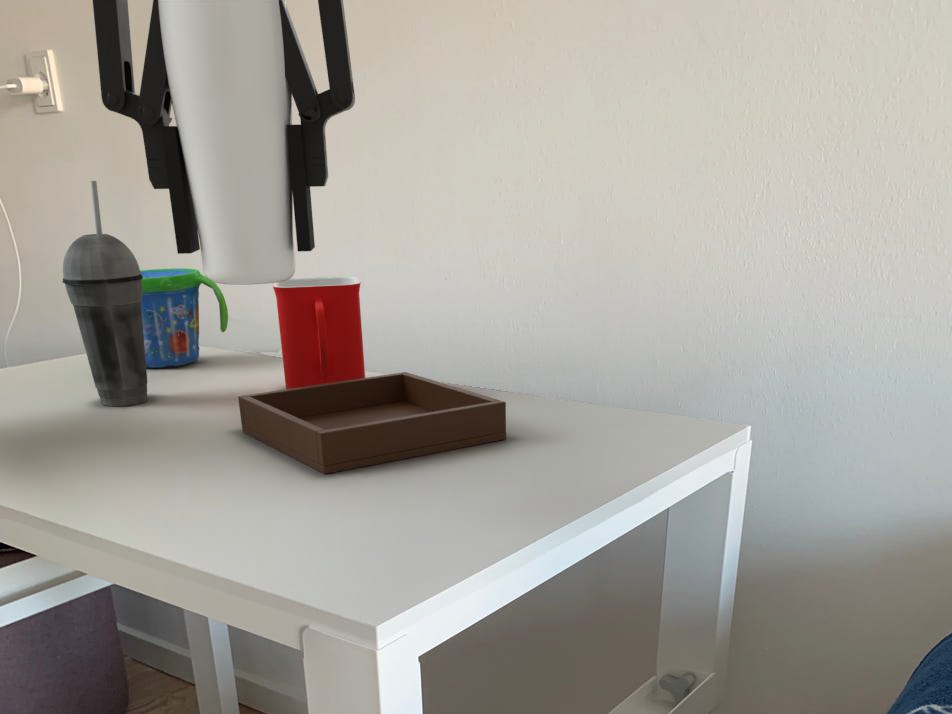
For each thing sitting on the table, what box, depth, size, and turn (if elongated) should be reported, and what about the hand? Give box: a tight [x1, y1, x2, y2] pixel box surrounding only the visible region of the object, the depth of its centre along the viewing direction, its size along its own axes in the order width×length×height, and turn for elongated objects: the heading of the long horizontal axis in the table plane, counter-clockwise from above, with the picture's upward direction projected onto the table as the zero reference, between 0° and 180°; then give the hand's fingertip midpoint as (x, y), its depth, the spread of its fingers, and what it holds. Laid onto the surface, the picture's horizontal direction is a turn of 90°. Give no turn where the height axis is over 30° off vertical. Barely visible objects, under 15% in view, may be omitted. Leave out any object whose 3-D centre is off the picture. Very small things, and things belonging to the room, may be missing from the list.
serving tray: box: [237, 371, 507, 475], centre depth 85 cm, size 17×17×3 cm
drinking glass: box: [158, 0, 296, 286], centre depth 56 cm, size 7×7×15 cm
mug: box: [272, 275, 366, 389], centre depth 98 cm, size 12×8×11 cm
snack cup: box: [140, 267, 229, 369], centre depth 116 cm, size 16×10×10 cm
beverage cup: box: [62, 180, 149, 407], centre depth 96 cm, size 7×7×20 cm
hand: (247, 249), depth 59 cm, fingers closed on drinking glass, 6 cm apart
